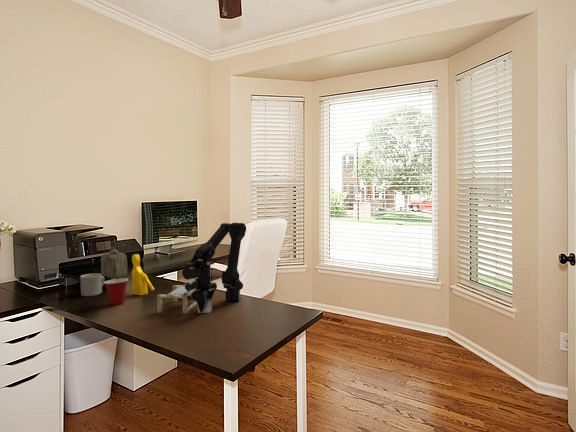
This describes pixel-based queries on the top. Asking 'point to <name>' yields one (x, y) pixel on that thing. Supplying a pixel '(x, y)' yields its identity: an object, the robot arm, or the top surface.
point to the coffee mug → (91, 284)
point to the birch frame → (185, 301)
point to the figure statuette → (139, 278)
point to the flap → (179, 291)
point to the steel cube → (207, 306)
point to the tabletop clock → (114, 264)
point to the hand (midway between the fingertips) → (204, 308)
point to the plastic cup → (116, 290)
